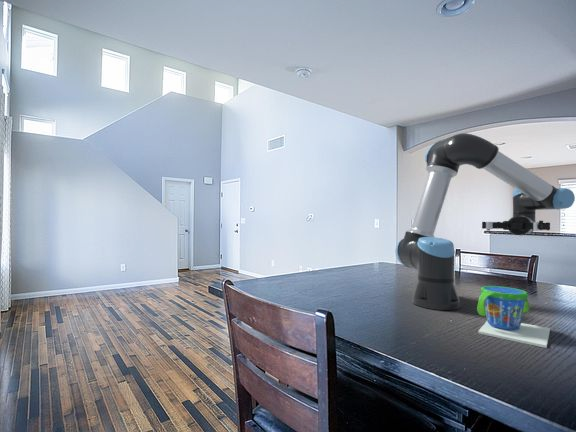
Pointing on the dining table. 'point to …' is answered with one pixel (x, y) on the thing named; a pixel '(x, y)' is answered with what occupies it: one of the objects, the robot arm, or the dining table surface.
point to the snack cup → (503, 306)
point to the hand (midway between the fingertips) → (509, 226)
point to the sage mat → (519, 334)
